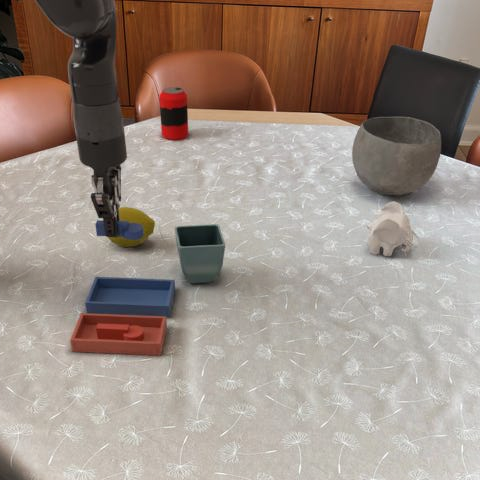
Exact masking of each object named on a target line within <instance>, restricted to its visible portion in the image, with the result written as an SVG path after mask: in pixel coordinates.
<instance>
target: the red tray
mask: <svg viewBox="0 0 480 480" xmlns="http://www.w3.org/2000/svg"><path fill="white" fill-rule="evenodd" d="M167 318H168V317H165V316H140V315H115V314H91V313H87V312H81V313H80V315H79V317H78V320H77V321H76V324H75V327H74V329H73V332H72V335H71V337H70V339H69V341H70V347H71V352H73V353H74V352H75V353H99V354H120V355H121V354H124V355H145V356H146V355H147V356H162V353H163V349H164V345H165V339H166V334H167V330H168V320H167ZM98 323H100V324H124V325H129V326H132V325H136V326H140V327H142V328H143V330H144V339H143V340H142V341H126V340H118V339H98V338H97V331H96V327H97V324H98Z"/></svg>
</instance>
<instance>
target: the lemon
mask: <svg viewBox="0 0 480 480" xmlns="http://www.w3.org/2000/svg"><path fill="white" fill-rule="evenodd" d="M119 217H120V221H129V223H138V224H141V225H142V226H143V233H144V235H143V237H142V238H140V239H137V240H128V239H125V238H124V237H108V239H109V241H110V242H111V243H113V244H115V245H117V246H118V247H123V248H131V247H136V246H139V245H141V244H142V243H144V242H145V241H146V240H147V239H148V238H149V237H150V236H151V235H152V234H153V233H154V230H155V225H156V223H155V220H154V219H153V218H152V217H150V216H149V215H148V214H147V213H146V212H144V211H142V210H140V209H138V208H135V207H129V206H120V208H119Z"/></svg>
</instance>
